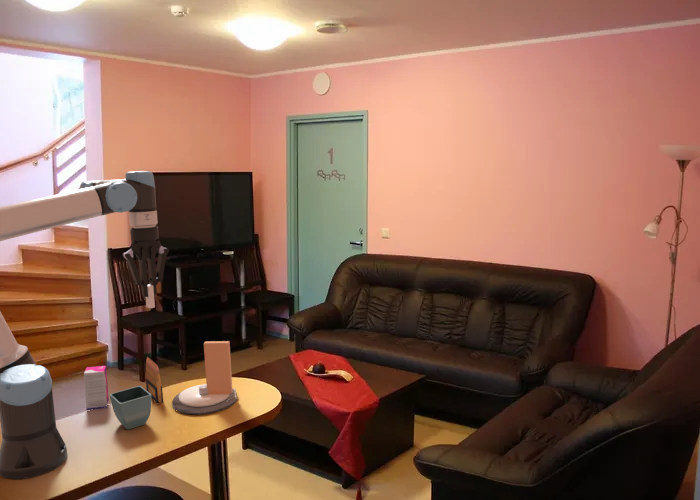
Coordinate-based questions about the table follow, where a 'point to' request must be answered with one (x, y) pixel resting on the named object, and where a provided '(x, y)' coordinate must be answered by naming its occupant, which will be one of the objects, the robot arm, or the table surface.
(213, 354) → the dial
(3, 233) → the robot arm
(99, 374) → the supplement box
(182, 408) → the base
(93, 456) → the table surface
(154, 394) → the ammunition clip
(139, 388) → the flower pot
